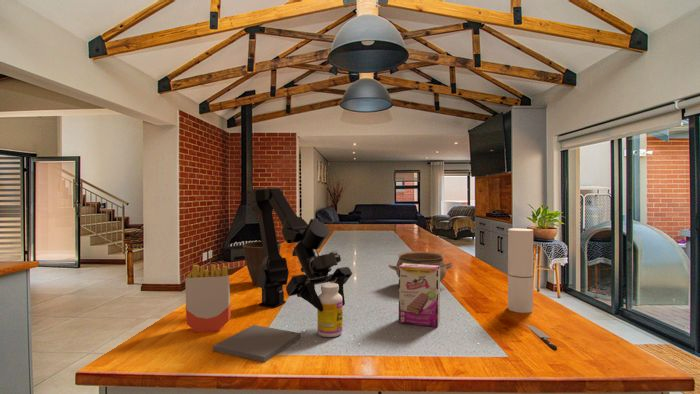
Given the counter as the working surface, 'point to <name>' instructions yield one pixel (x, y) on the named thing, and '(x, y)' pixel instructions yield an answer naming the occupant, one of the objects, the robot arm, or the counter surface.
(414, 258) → the cooking pot
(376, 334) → the counter surface
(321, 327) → the supplement bottle
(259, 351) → the charcoal mat
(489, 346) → the counter surface
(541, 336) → the chef's knife
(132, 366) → the counter surface
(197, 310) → the french fries container
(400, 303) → the candy bar box
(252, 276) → the plant pot
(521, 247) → the cylindrical container
